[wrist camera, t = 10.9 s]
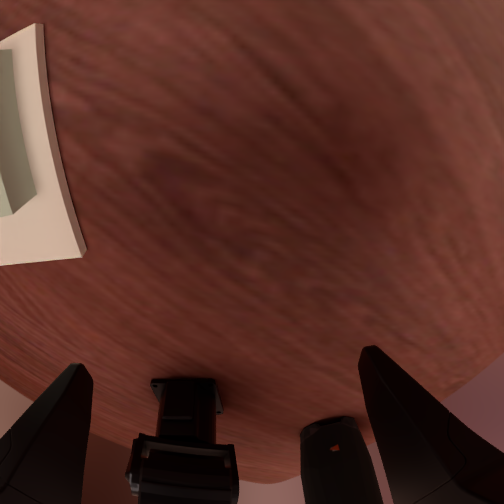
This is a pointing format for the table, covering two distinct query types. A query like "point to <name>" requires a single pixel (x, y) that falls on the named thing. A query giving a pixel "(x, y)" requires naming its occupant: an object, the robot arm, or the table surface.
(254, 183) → the table surface
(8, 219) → the tray
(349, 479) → the portable speaker
